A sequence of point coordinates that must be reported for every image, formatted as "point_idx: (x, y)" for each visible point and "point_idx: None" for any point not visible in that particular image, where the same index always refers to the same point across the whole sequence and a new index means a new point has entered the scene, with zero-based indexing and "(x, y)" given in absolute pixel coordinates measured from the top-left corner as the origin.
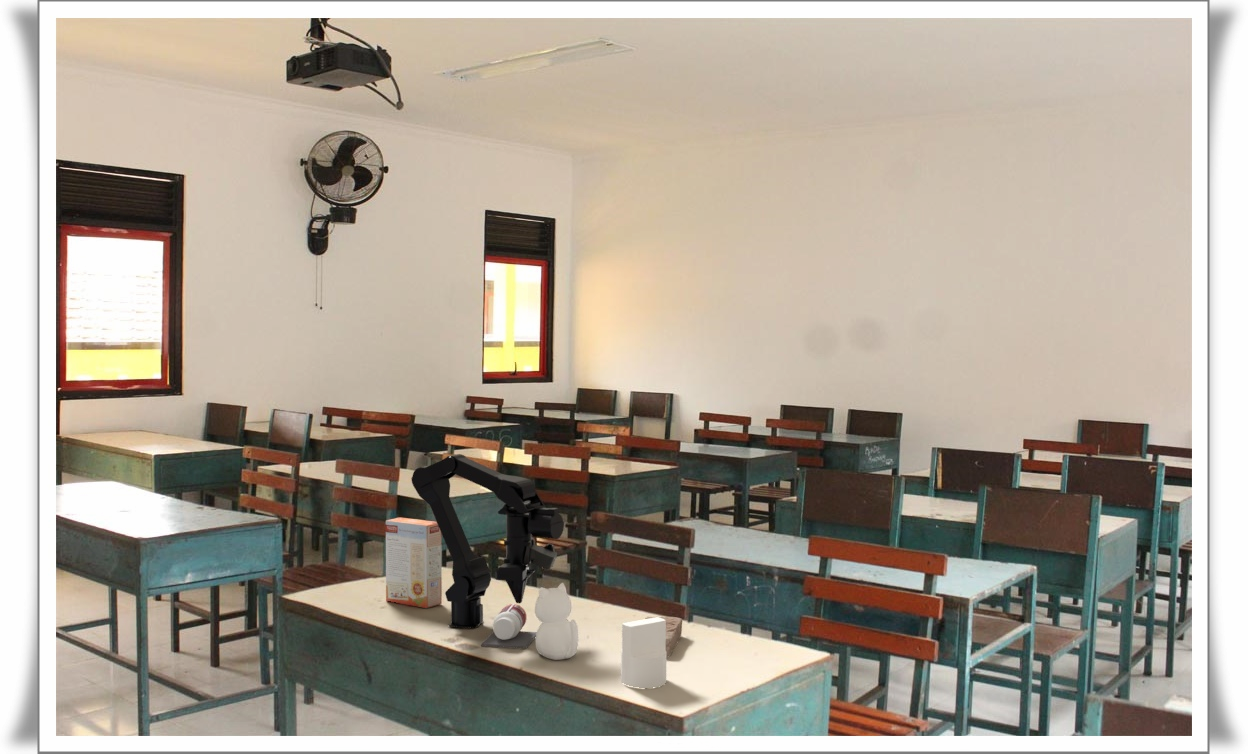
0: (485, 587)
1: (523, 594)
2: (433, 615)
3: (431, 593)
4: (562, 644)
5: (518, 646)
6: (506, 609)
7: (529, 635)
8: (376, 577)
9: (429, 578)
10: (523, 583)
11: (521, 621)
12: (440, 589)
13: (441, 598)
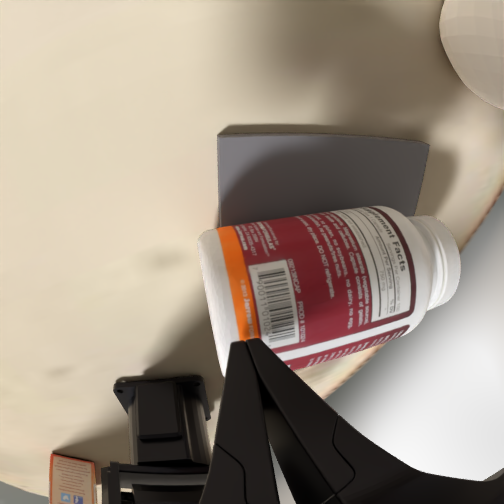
0: (157, 497)
1: (234, 387)
2: (124, 450)
3: (81, 484)
4: None
5: (422, 171)
6: (371, 341)
7: (287, 163)
8: (19, 488)
9: None
10: (383, 468)
11: (371, 226)
12: (53, 481)
13: (50, 463)
